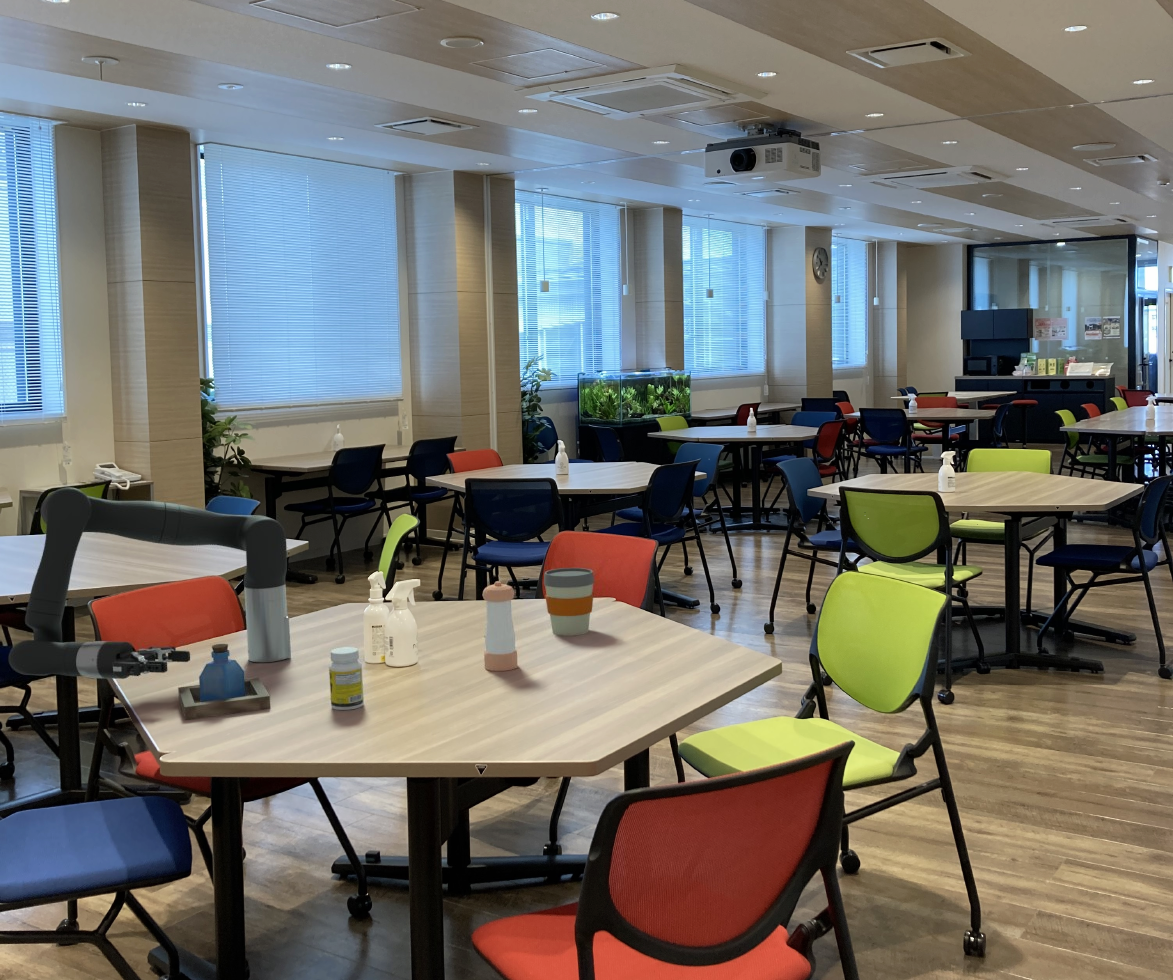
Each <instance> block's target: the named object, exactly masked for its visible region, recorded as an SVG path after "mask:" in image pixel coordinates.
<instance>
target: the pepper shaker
mask: <svg viewBox="0 0 1173 980" xmlns="http://www.w3.org/2000/svg"><path fill="white" fill-rule="evenodd" d="M482 597H483V600H485V601H486V602H485V603H486V605H485V606H486V624H485V625H486V627H485V635H484V644H485V645H484V646H485V650H484V654H483V656H484V658H483V659H484V660H483V661H484V669H485V670H487V671H491V672H503V671H505V672H506V671H512V670H515V669H516V668H518V666H519V665H518V650H517V649H516V633H515V627H514V624H513V623H514V622H513V616H512V615H513V614H512V613H513V611H512V600H513V599H514V598H515V591H514V588H513V587H512V586H511V585H509V584H505V583H504V584H503V583H502V582H501V581H500V580H499V581H498V580H497V581H495V582H494V584H490V585H488V586H486V587H485V588H484V589H483V591H482Z"/></svg>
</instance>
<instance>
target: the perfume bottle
mask: <svg viewBox="0 0 1173 980" xmlns="http://www.w3.org/2000/svg"><path fill="white" fill-rule="evenodd" d="M228 647H229V644H227V643H217V644H216V643H215V644H213V645H211V649H212V651H211V655H210V656H211V658H212V659H213V661H210V662H207V663H206V664H205V666H204V667H203V669H202V670H201V672H200V675H199V677H198V681H199V682H198V683H199V684H198V685H200V699H199V701H200V702H207V701H215V700H223V699H230V698H238V697H246V693H245V680H244V679H245V670H244V669H243V668H242V667H241V665H240V664H239V663H238V662H237V660H236V659H229V657H230V650H229V649H228Z"/></svg>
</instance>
